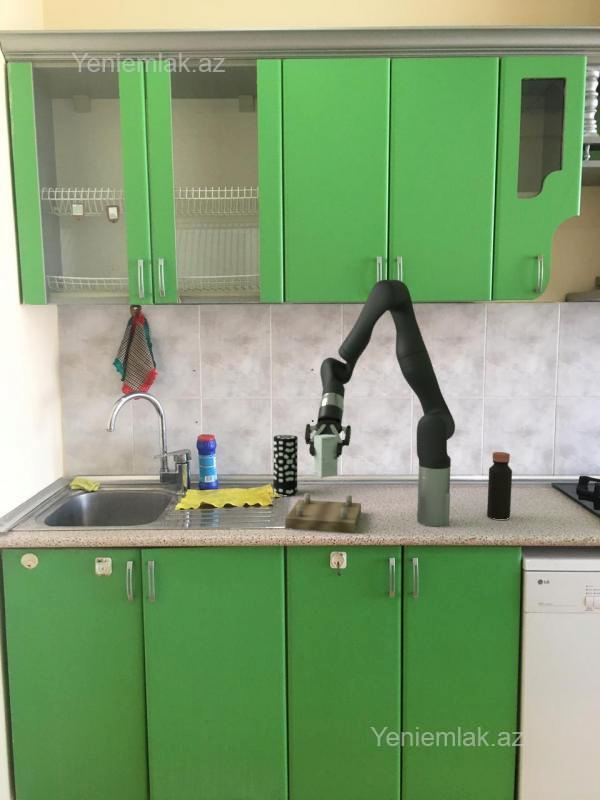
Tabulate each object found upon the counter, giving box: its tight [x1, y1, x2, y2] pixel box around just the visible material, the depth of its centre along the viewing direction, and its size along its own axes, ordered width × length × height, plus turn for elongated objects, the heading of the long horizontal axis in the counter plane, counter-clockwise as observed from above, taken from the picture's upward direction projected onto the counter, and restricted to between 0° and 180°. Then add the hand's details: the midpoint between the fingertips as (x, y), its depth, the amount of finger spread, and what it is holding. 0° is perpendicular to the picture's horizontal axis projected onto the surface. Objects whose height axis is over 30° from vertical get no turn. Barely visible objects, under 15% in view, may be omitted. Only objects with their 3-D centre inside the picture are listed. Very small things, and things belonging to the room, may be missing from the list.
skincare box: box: [313, 434, 339, 479], centre depth 184 cm, size 6×4×12 cm
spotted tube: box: [272, 434, 299, 497], centre depth 214 cm, size 8×8×20 cm
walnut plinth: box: [284, 492, 362, 534], centre depth 185 cm, size 20×20×6 cm
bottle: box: [486, 451, 513, 520], centre depth 188 cm, size 7×7×20 cm
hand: (325, 455), depth 182 cm, fingers closed on skincare box, 7 cm apart
